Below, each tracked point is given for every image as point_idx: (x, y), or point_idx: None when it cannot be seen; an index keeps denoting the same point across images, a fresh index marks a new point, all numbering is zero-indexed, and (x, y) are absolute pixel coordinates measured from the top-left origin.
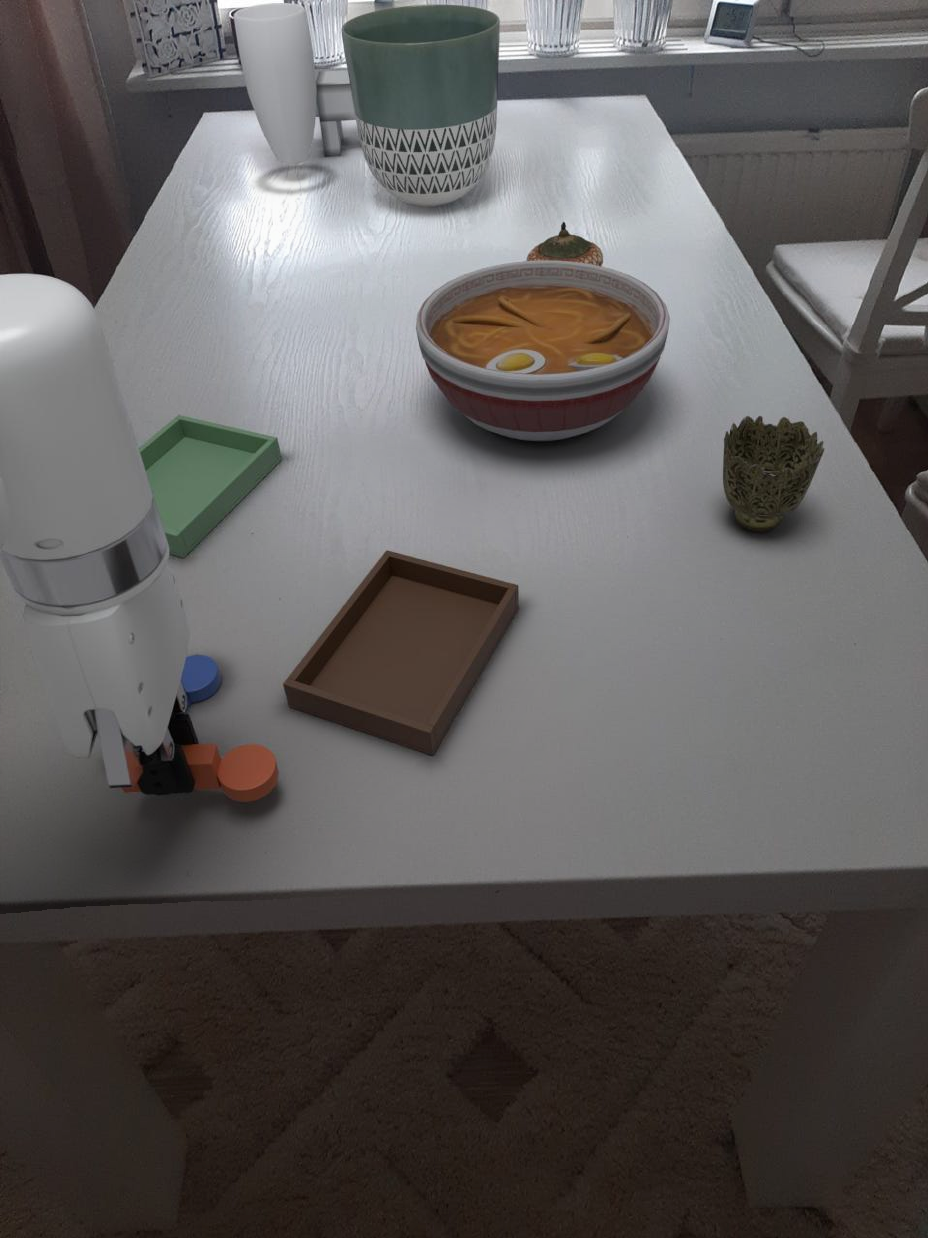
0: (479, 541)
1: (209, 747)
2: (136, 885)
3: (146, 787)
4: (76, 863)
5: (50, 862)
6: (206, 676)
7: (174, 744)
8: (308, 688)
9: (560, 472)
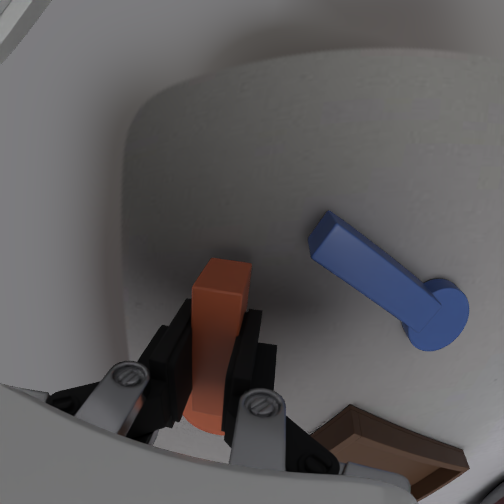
0: (448, 483)
1: (221, 412)
2: (125, 250)
3: (157, 331)
4: (158, 171)
5: (164, 136)
6: (425, 340)
7: (177, 418)
8: (335, 451)
9: (467, 498)
